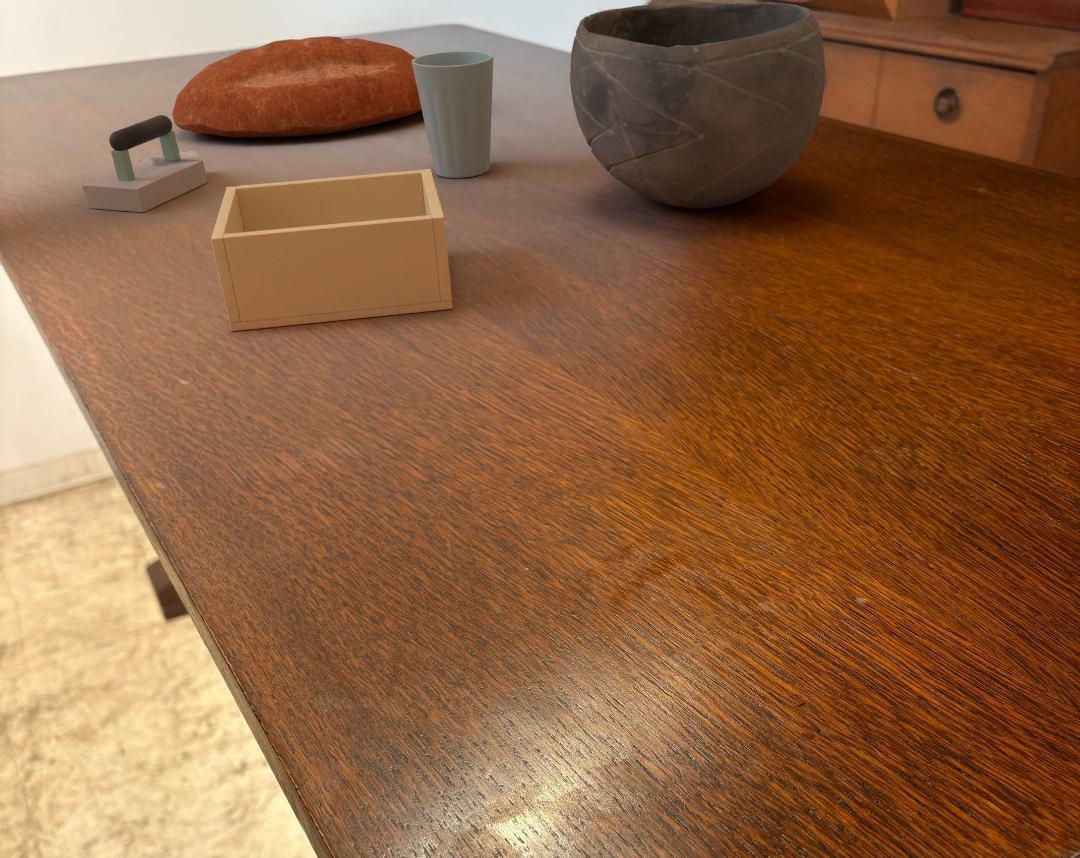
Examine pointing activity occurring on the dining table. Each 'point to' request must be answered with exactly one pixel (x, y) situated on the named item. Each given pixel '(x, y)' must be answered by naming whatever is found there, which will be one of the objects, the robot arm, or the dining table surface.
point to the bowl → (698, 96)
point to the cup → (456, 110)
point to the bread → (300, 89)
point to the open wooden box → (331, 249)
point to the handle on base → (145, 170)
